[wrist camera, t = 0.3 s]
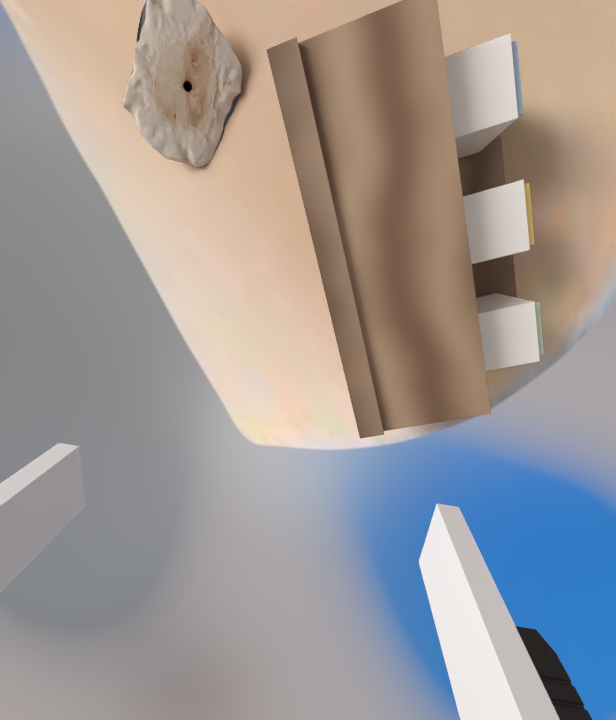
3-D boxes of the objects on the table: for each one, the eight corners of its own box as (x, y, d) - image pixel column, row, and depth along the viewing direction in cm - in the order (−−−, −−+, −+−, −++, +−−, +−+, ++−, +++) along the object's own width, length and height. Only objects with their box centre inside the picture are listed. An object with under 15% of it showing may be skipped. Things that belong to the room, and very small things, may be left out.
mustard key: (491, 196, 31) (532, 176, 24) (497, 251, 32) (538, 247, 25) (408, 219, 33) (423, 207, 25) (417, 271, 34) (434, 273, 27)
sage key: (502, 291, 33) (542, 299, 26) (507, 339, 34) (547, 359, 27) (424, 309, 35) (442, 321, 28) (431, 354, 36) (450, 377, 29)
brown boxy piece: (488, 54, 29) (573, -78, 18) (520, 356, 36) (596, 400, 24) (297, 123, 32) (266, 49, 21) (358, 387, 39) (360, 438, 28)
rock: (262, 131, 37) (200, -22, 29) (268, 132, 34) (202, -36, 27) (171, 179, 37) (87, 39, 30) (170, 183, 34) (76, 31, 27)
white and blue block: (479, 87, 29) (520, 29, 22) (486, 149, 30) (527, 114, 23) (391, 117, 30) (402, 73, 23) (401, 176, 32) (414, 151, 24)
